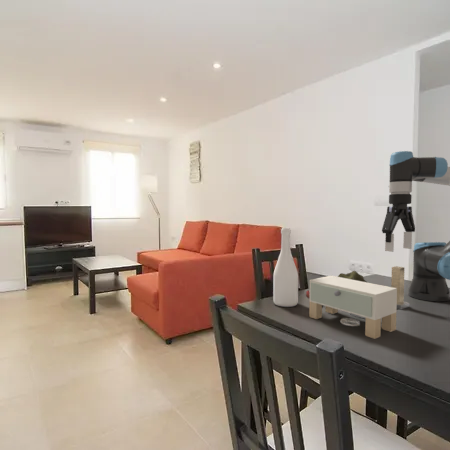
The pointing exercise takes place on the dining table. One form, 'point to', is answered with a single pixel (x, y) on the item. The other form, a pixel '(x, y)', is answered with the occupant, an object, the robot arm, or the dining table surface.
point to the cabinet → (355, 301)
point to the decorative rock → (352, 276)
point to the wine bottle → (285, 275)
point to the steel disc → (350, 322)
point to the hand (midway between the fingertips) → (398, 249)
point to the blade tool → (397, 283)
